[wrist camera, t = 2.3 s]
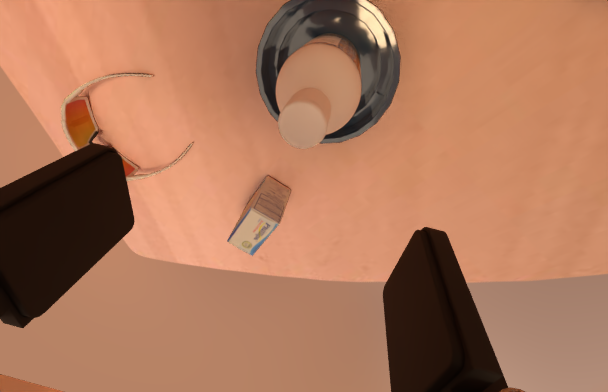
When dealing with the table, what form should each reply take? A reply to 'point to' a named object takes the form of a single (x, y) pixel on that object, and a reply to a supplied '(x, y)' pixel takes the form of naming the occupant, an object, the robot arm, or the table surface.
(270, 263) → the table surface
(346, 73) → the bath foam
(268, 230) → the medicine box
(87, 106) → the sunglasses
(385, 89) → the bowl
